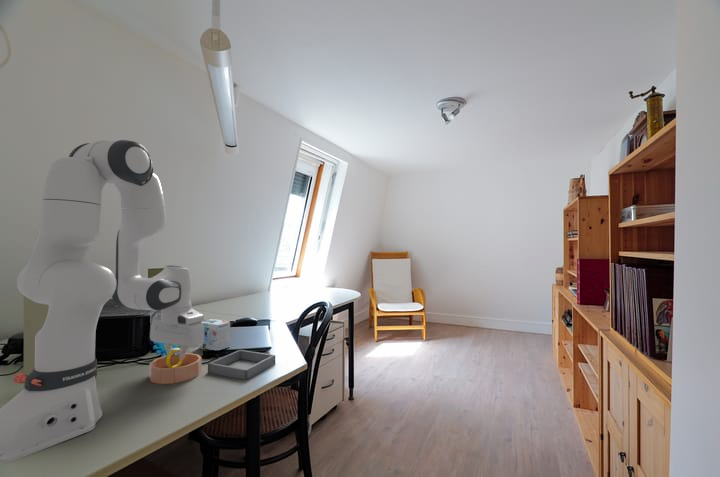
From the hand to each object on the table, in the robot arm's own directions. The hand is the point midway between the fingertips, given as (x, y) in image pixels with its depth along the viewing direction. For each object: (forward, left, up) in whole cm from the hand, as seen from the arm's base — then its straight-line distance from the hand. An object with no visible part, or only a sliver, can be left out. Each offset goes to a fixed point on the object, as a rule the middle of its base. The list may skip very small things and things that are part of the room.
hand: (176, 357), depth 114 cm
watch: (0, 0, -3) cm, 3 cm away
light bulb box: (+26, +9, -6) cm, 28 cm away
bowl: (0, 0, -6) cm, 6 cm away
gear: (+13, +18, -6) cm, 23 cm away
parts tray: (+13, -16, -6) cm, 21 cm away
